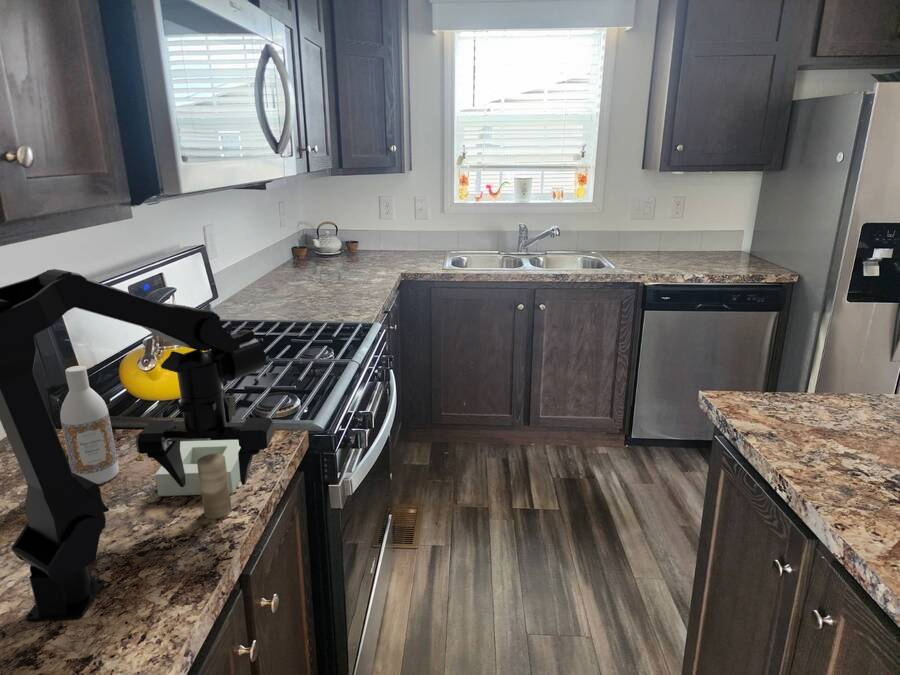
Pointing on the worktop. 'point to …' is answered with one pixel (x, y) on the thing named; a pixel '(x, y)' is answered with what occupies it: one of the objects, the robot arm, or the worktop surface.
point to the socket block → (189, 458)
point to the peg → (214, 485)
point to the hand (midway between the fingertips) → (213, 484)
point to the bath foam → (87, 430)
